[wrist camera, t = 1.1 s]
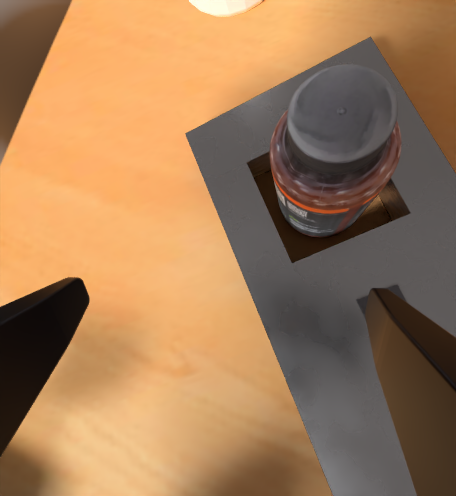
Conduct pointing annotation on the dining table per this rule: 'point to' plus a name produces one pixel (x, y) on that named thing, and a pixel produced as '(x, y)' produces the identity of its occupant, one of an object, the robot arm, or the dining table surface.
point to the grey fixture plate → (338, 276)
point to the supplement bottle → (335, 148)
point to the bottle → (225, 6)
